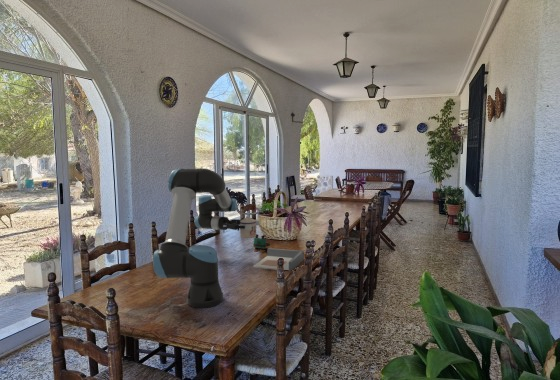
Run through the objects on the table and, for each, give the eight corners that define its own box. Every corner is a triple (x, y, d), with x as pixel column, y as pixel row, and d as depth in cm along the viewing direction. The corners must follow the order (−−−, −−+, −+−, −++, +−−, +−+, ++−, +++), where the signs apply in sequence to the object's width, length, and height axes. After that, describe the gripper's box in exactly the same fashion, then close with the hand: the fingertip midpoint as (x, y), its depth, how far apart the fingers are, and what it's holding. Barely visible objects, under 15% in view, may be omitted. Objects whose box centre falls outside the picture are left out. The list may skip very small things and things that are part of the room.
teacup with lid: (252, 239, 207) (252, 218, 205) (237, 238, 210) (236, 217, 208) (261, 234, 218) (260, 214, 217) (246, 233, 221) (245, 213, 220)
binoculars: (271, 234, 241) (264, 235, 233) (271, 250, 242) (263, 253, 233) (259, 232, 246) (251, 234, 237) (259, 248, 246) (251, 251, 237)
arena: (291, 271, 198) (291, 262, 198) (253, 267, 206) (252, 258, 205) (303, 259, 219) (303, 250, 218) (268, 256, 226) (268, 248, 226)
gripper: (230, 225, 231) (263, 227, 224) (210, 234, 208) (246, 236, 201) (229, 213, 230) (263, 214, 223) (209, 220, 207) (246, 222, 200)
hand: (255, 224), depth 212 cm, fingers closed on teacup with lid, 12 cm apart
